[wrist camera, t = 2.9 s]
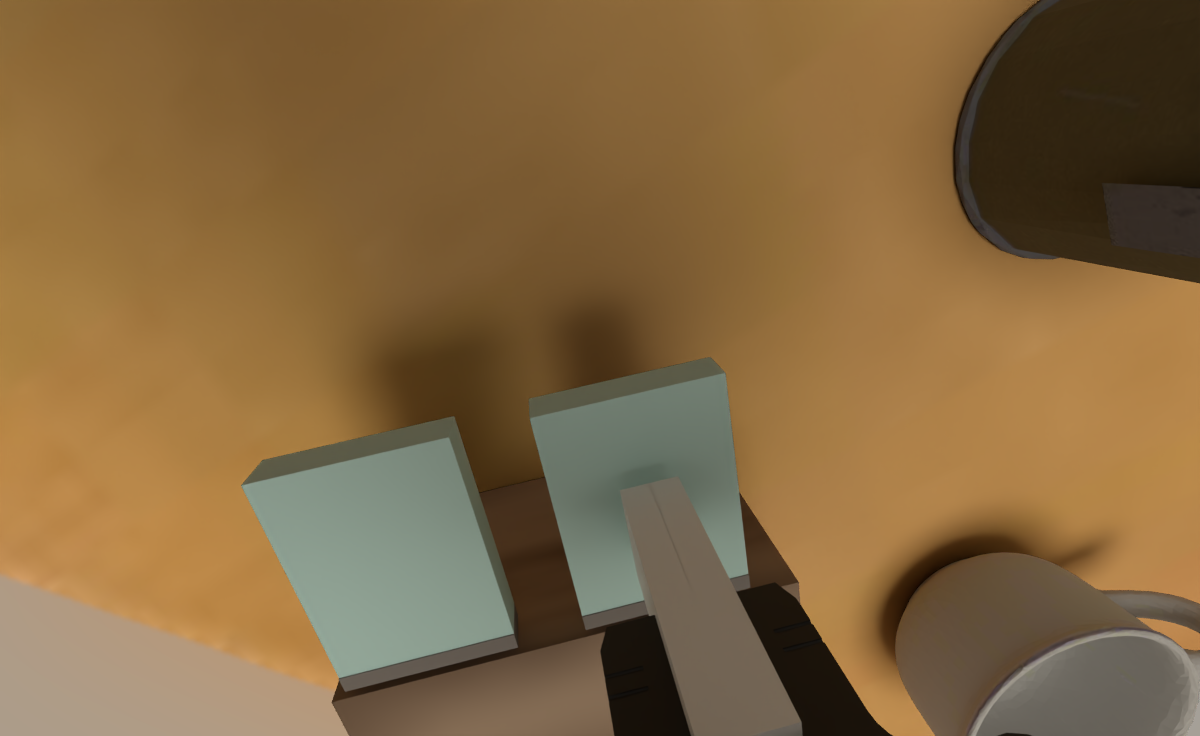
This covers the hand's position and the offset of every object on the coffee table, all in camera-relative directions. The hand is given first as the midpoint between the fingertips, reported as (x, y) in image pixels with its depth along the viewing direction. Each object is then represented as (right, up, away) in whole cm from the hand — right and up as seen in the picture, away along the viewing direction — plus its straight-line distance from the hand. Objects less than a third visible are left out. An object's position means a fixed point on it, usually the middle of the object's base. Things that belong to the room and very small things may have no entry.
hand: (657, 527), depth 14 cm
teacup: (+20, -9, +17) cm, 28 cm away
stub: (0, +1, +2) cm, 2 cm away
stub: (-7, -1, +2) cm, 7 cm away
